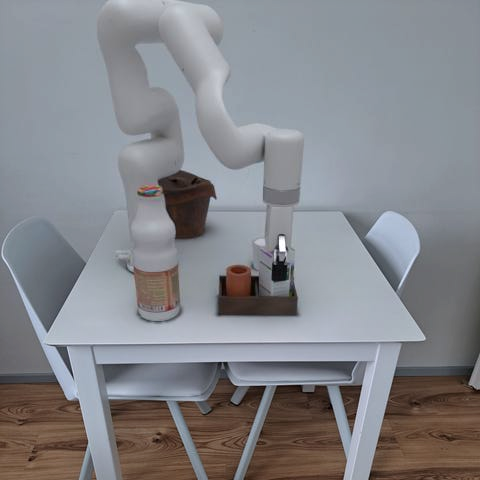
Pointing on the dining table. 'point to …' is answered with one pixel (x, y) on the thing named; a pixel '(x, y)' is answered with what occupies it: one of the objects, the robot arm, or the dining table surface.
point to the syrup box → (265, 271)
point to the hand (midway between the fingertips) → (276, 270)
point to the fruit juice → (155, 257)
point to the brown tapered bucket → (187, 202)
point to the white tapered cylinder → (257, 251)
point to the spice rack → (255, 301)
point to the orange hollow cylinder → (238, 280)
